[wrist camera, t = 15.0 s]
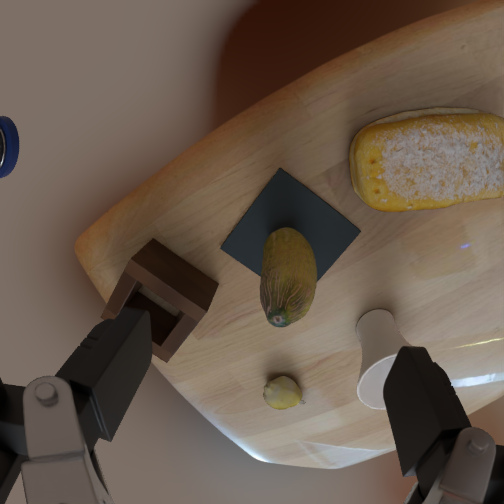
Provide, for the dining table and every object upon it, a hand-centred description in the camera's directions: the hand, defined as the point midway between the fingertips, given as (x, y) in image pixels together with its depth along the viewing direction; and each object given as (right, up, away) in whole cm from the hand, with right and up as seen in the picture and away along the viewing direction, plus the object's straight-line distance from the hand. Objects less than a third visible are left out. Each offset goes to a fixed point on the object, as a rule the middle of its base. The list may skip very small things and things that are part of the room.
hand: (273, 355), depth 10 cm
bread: (+24, +17, +29) cm, 41 cm away
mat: (+5, +5, +35) cm, 36 cm away
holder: (-14, -3, +40) cm, 43 cm away
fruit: (+6, -21, +45) cm, 50 cm away
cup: (+19, -9, +39) cm, 44 cm away
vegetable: (+5, +5, +35) cm, 36 cm away
